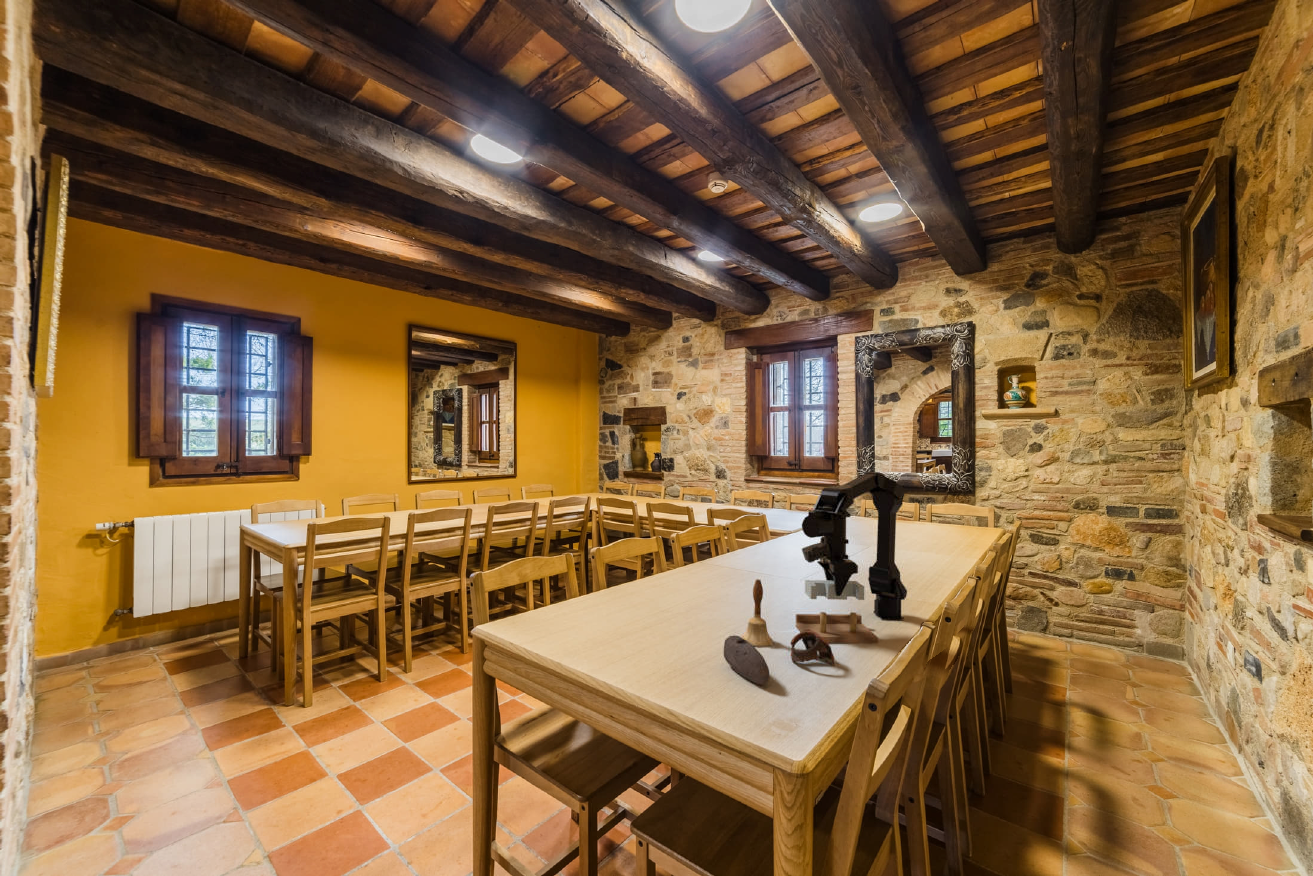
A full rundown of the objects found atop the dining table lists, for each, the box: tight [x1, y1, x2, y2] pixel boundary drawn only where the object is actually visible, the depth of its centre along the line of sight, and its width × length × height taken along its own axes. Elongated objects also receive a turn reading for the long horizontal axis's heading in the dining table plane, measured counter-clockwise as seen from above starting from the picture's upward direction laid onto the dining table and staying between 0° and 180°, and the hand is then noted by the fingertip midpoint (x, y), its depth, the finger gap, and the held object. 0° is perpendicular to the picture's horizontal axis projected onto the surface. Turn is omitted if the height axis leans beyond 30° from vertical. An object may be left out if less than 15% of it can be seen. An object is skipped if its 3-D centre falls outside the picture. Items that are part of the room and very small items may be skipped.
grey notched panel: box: [804, 579, 865, 601], centre depth 144 cm, size 14×6×4 cm, turn 89°
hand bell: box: [740, 579, 774, 648], centre depth 139 cm, size 8×8×16 cm
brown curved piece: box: [790, 629, 836, 667], centre depth 126 cm, size 12×10×8 cm
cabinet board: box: [795, 611, 879, 644], centre depth 144 cm, size 18×12×6 cm, turn 90°
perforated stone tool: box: [723, 635, 771, 686], centre depth 118 cm, size 15×5×7 cm, turn 21°
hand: (834, 592), depth 144 cm, fingers closed on grey notched panel, 6 cm apart
